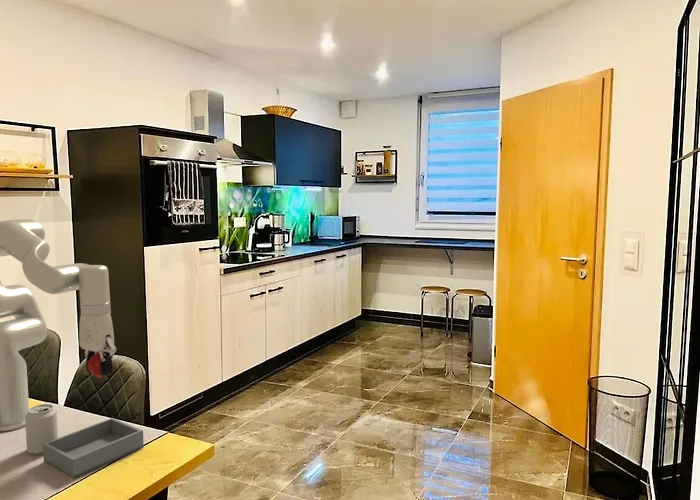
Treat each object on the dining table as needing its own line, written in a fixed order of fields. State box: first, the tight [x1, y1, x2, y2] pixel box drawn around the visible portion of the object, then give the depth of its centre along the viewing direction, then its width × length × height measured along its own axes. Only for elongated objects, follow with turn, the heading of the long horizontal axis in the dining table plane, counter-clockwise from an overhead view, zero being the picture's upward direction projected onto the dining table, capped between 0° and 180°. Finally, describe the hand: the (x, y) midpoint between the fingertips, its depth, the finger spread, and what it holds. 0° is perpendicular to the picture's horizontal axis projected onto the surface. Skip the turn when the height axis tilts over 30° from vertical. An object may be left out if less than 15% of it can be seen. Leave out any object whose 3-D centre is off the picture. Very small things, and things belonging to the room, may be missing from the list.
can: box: [25, 403, 59, 456], centre depth 143 cm, size 8×8×12 cm
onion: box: [88, 352, 106, 379], centre depth 147 cm, size 6×6×8 cm
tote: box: [42, 417, 144, 480], centre depth 140 cm, size 15×20×5 cm
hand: (99, 371), depth 147 cm, fingers closed on onion, 5 cm apart
